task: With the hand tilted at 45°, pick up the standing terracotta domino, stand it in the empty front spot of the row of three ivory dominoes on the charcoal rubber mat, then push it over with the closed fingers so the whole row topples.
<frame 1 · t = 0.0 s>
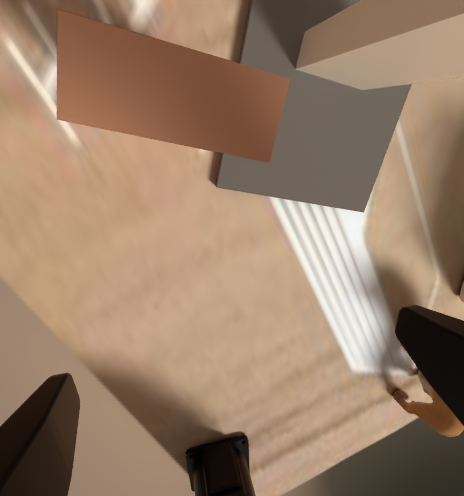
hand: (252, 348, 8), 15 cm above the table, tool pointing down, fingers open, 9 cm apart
terracotta domino: (164, 109, 19), on the table
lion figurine: (408, 353, 34), on the table
ivory domino 2: (335, 62, 19), point 1 cm above the table, touching domino mat
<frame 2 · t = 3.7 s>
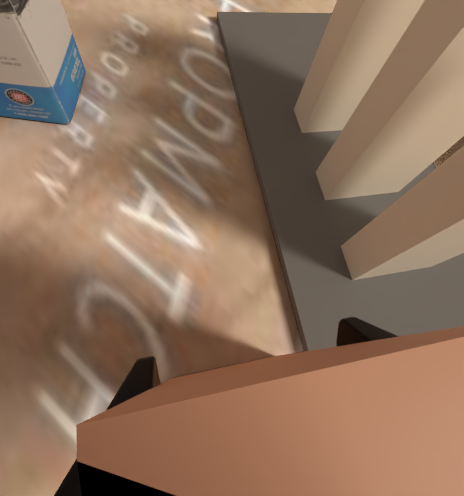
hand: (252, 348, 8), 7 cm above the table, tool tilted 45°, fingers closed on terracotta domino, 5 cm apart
domino mat: (347, 173, 20), on the table
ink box: (10, 91, 19), on the table
terracotta domino: (229, 389, 14), on the table, touching gripper
ivory domino 4: (332, 118, 21), point 1 cm above the table, touching domino mat
ivory domino 3: (357, 182, 19), point 1 cm above the table, touching domino mat
ivory domino 2: (386, 256, 17), point 1 cm above the table, touching domino mat
when the fingers open (9 cm above the table, at t = 7.1 s): terracotta domino stays where it is, resting on domino mat.
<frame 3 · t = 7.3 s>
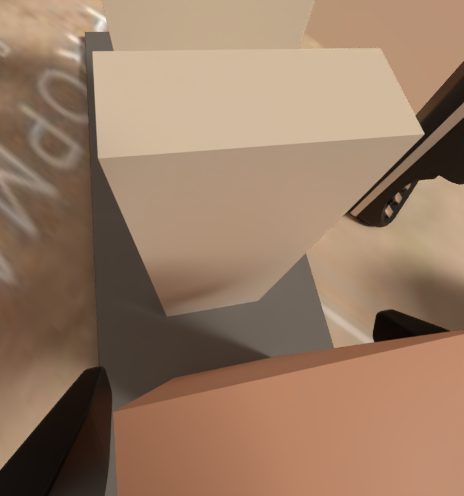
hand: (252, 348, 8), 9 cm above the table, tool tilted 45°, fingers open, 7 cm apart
domino mat: (194, 201, 19), on the table
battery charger: (382, 196, 22), on the table
terracotta domino: (228, 388, 15), point 1 cm above the table, touching domino mat
ivory domino 3: (197, 211, 18), point 1 cm above the table, touching domino mat
ivory domino 2: (210, 290, 17), point 1 cm above the table, touching domino mat
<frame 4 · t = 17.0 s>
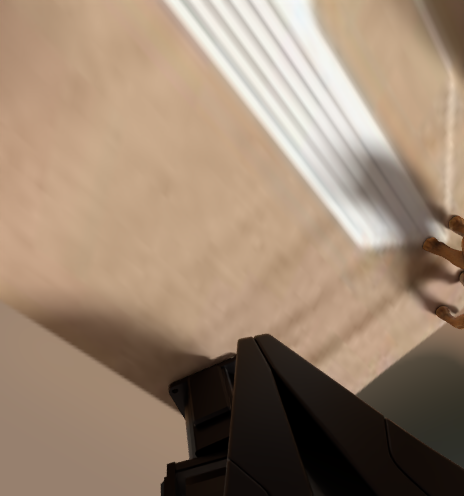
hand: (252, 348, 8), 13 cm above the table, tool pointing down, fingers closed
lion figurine: (438, 260, 27), on the table
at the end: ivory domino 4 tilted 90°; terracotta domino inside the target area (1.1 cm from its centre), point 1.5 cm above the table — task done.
